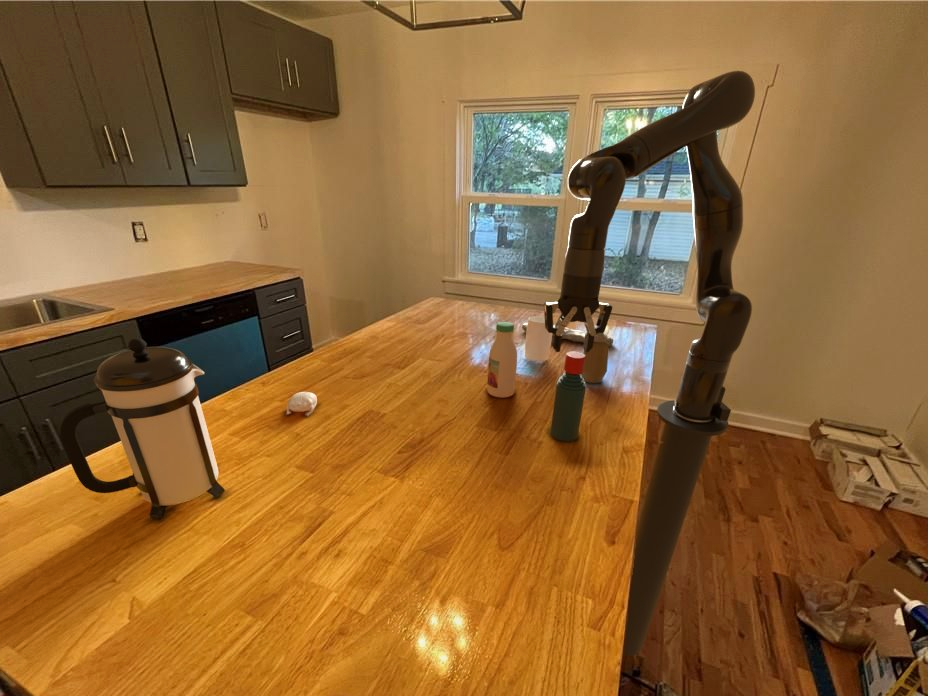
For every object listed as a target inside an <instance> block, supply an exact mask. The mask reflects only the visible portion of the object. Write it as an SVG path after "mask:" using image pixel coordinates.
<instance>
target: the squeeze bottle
mask: <svg viewBox="0 0 928 696" xmlns="http://www.w3.org/2000/svg"><path fill="white" fill-rule="evenodd" d="M607 336H608V335H607V334H606V333H605V331H604V332H603V333H598V334H596V335H595V337H594V342H593V348H592V349H590V351H589V352H585V351H584V350H583V352H582V353H583V354H585V362H584V368H583V373H581V375H582V378H583V379H584V381H585V383H590V384H598V383H601V382H602V380H603V379H604V377H605V375H606V374H607V372H608V363H609V362H608V361H609V360H608V359H609V348H610V346H609V344H608V343H607V342H606V340H607Z"/></svg>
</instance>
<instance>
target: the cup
mask: <svg viewBox="0 0 928 696" xmlns="http://www.w3.org/2000/svg"><path fill="white" fill-rule="evenodd" d="M527 323H528V324H527V331H526V332H525V343H524V344H525V345H524V357H525V358H526V359H527V360H529V361H531V362H532V361H533V362H546V361H548V360H549V357H550V354H551V353H550V352H551V348H552V347H551V346H552V341H553V338H552V333H549V332H548V331H547V329H546V328H545V317H544V316H543V315H533V316H530V317H528V319H527Z"/></svg>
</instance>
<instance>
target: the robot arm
mask: <svg viewBox="0 0 928 696" xmlns="http://www.w3.org/2000/svg"><path fill="white" fill-rule="evenodd" d="M755 96H756V87H755V82H754V79H753V77H752V76H751V74H749V73H748V72H745V71H743V70H732V71H727V72H726V73H723V74H719V75H718V76H715V77H713V78H710V79H707V80H705V81H702V82H699V83H698V84H696V85H694V86H693V87H691V88H690V89H689V90H688V92H687V93H686V95H685V97H684V100H683V104H682V109H679V110H676V111H674V112H673V113H670V114H668V115H666V116H663V117H661V118H659V119H657V120H655V121H653V122H651V123H649V124H647V125H645V126H643V127H641V128H639V129H638V130H636V131H634V132H633V133H631V134H630V135H627V136H626V137H625V138H623V139H622V140H620V141H618V142H615V144H612V145H609V146H606V147H604V148H601V149H599V150H597V151H594V152H592V153H589V154H587V155H585V156H584V157H582V158H581V159H579V160H578V161H577V162H576V163H575V164H574V165H573V166H572V168H571V169H570V171H569V174H568V177H567V189H568V190H569V192H570V194H571V195H572V196H573V197H575V198H577V199H578V200H579V199H580V200H585V201H586V200H587V201H588V204H587V206H586V209H585V211H584V212H583V213H580V214H576V215H574V217H573V218H572V220H571V222H570V226H569V227H570V228H569V234H568V241H567V242H568V243H567V244H568V245H567V250H566V253H565V258H564V262H563V263H564V264H563V271H562V279H561V280H562V281H561V288H560V296H559V298H558V299H557V301H554V302H549V301H545V302H544V303H543V312H544V314H543V315H544V317H545V328H546V329H547V331H548V332H549V333H553V338H552V341H551V346H552V347H551V348H553V350H554V351H555V353H560V352H561V348H562V340H563V339H562V336H561V333H562V332H563V330H564V329H565V327H566V328H568V327H567V326H569V324H570V323H575V322H580V323H583V324H584V326H585V331H586V332H587V333H585V339H584V342H583V345H582V346H583V347H582V349H583V352H584V351H585V352H589V351H590V349H592V348H593V342H594V337H595V335H596V334H598V333H603V332H604V333H605V332H606V328H607V325H608V322H609V319H610V316H611V314H612V310H613V306H612V304H609V303H608V302H607V301H606V302H600V301H599V296H600V291H601V285H602V279H603V273H604V270H605V258H606V255H605V254H606V245H607V239H608V233H609V232H608V231H609V228H610V225H611V222H612V220H613V218H614V216H615V213H616V210H617V208H618V207H619V203H620V202H621V199H622V196H623V193H624V190H625V186H626V181H627V180H631V179H632V180H633V179H635V178H637V177H638V176H640V175H642V174H644V173H645V172H647V171H649V170H651V168H653V167H655V166H657V165H658V164H659V163H661V162H663V161H664V160H666V159H667V158H669V157H671V156H672V155H674V154H675V153H678V152H679V151H680V150H682V149H684V148H685V147H686V153H687V158H688V166H689V173H690V174H689V175H690V185H691V194H692V195H691V197H692V222H693V235H694V243H695V244H694V245H695V246H694V247H695V258H696V268H697V279H696V294H695V295H696V296H695V309H696V310H695V311H696V313H697V316H698V317H699V319H700V320H701V321H702V322H703V323H705V324H704V327H703V331H702V333H701V336H700V337H698V338H695V339H693V340H692V342H691V344H690V347H689V350H688V353H687V358H686V362H685V366H684V369H683V373H682V377H681V380H680V383H679V388H678V391H677V395H676V398H674V400H675V401H674V403H675V405H674V407H673V413H674V415H675V416H677V417H678V418H680V419H682V420H684V421H687V422H690V423H695V424H708V423H710V422H715V421H716V418H717V419H718V420H720V421H728V422H729V417H730V415H731V412H732V409H731V408H730V407H729V406H727V405H726V404H725V403H724V402H723V399H724V396H725V392H726V389H727V388H725V386H724V384H725V380H726V377H727V374H728V372H729V368H730V364H731V362H732V359H733V356H734V354H735V352H736V351H737V350H738V349H739V347H740V346H741V344H742V341H743V338H744V337H745V333H746V331H747V328H748V326H749V324H750V321H751V317H752V314H753V313H752V311H753V304H752V301H751V299H750V298H749V297H748V296H747V295H745V294H744V293H742V292H739V291H737V290H735V289H734V284H733V275H732V274H733V273H732V272H733V271H732V263H733V262H732V261H733V257H734V254H735V252H736V250H737V246H738V244H739V241H740V239H741V235H742V233H743V232H742V231H743V227H744V204H743V203H744V200H743V194H742V190H741V189H740V186H739V185H738V183H737V181H736V180H735V178H734V177H733V175H732V174H731V172H730V171H729V169H728V168H727V166H726V165H725V164H724V162H723V160H722V157H721V154H720V151H719V144H718V143H719V142H718V131H721V130H725V129H728V128H731V127H733V126H735V125H737V124H739V123H741V122H742V121H743V120H744V119H745V118H746V116H748V114H749V113H750V111H751V110H752V108H753V105H754V101H755V98H756V97H755ZM557 309H559V311H560V315H559V317H558V318H557V321H556V323H555V324H554V314H555V313H556V312H557V311H556V310H557ZM597 310H598V313H599V315H598V317H597V321H596V322H595V323H594V320H593V319H594V318H593V315H594V313H596V312H597ZM553 325H555V326H553Z"/></svg>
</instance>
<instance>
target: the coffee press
mask: <svg viewBox="0 0 928 696" xmlns="http://www.w3.org/2000/svg"><path fill="white" fill-rule="evenodd" d="M147 345H148V343H147V342H146V341H145V340H144V339H142V338H139V337H135V338H131V339H130V340H129V342H128V345H127V347H128V348H129V349H130V350H126V351H122V352H119V353H117V354H114V355H112V356H110V357H108V358H107V359H105V360H104V361H103V362H102V363H100V364H99V366H98V368H97V370H96V375H94V378H93V381H94V383H95V386H96V387H97V388H98V389H99V390H100V391H101V392H102V395H103V397H104V398H103V401H99V402H94V403H84V404H82V405H80V406H77V407H75V408H73V409H72V410H70V411H69V412H68V413H67V414H66V415H64V417H63V419H62V421H61V423H60V427H59V436H60V439H61V444H62V446H63V449H64V451H65V455H66V456H67V458H68V460H69V462H70V465H71V467H72V469H73V471H74V473H75V475H76V477H77V479H78V481H79V482H80V484H81V485H82V486H83V487H84V488H85V489H87V490H89V491H90V492H94V493H97V494H110V493H116V492H121V491H125V490H127V489H131V488H137V489H138V490H139V491H140V494H141V496H142V498H143V499H144V500H145V501H146V502H148V503H149V504H151V506H150V512H149V518H150V519H151V520H162V519H163V518H164V516H165V513H166V510H167V508H168V507H169V506H174V505H175V506H176V505H179V504H183V503H186V502H189V501H192V500H194V499H196V498H198V497H201V496H202V495H203V494H205V493H208V494H210V495H211V496H213V498H216V499H218V498H221V497H222V495H224V494H225V492H226V491H225V490H226V489H225V488H224V487H223V486H222V485H221V484H220V483H219V482H218V477H219V468H218V464H217V460H216V456H215V452H214V448H213V445H212V441H211V437H210V434H209V430H208V427H207V422H206V419H205V415H204V411H203V407H202V404H201V400H200V397H199V394H200V392H199V387H198V384H197V381H196V379H195V378H196V377H198V376H203V375H205V371H204V370H202V369H201V367H199V366H197V365H196V364H194V363H193V361H192V360H191V359H190V358H189V357H187V356H186V355H185V353H183V352H182V351H180V350H178V349H175V348H171V347H166V346H147ZM106 412H107V413H108V414H109V415H110V416H111V418H112V421H113V424H114V427H115V429H116V431H117V434H118V437H119V439H120V442H121V445H122V447H123V450H124V452H125V455H126V457H127V460H128V463H129V466H130V469H131V471H132V474H131V475H129V476H127V477H124V478H120V479H116V480H111V481H105V480H101V479H99V478H97V477H96V476H95V475H94V473H93V471H92V469H91V467H90V464H89V462H88V460H87V458H86V456H85V453H84V451H83V449H82V446H81V443H80V442H79V441H80V440H79V439H78V437H77V434H76V429H77V427H78V425H79V424H80V422H81V421H83V420H85V419H86V418H90V417H92V416H95V415H96V414H100V413H101V414H102V413H106Z"/></svg>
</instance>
